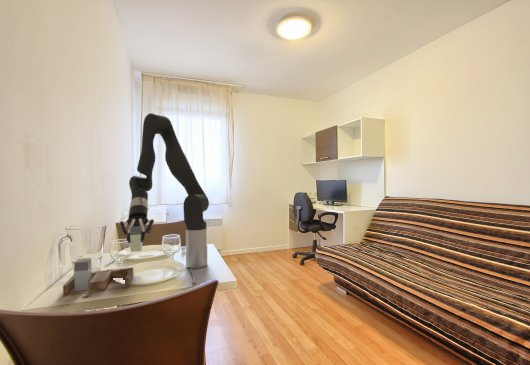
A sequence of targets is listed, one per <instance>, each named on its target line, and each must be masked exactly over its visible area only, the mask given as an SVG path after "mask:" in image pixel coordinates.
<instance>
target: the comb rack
mask: <svg viewBox="0 0 530 365" xmlns="http://www.w3.org/2000/svg"><path fill="white" fill-rule="evenodd" d="M91 273H92V280H91V281H90V282H89V289H88V290H81V291H75V275H74V274H73V275H72V276H71V277H70V278H69V279H68V280H67V281H66V282H65V283H64V284H63V286H62V289H63V290H62V293H63V295H62V296H63V297H68V296H77V295H83V294H91V293H98V292H105V291H106V292H107V291H114V290H120V289H128V288H130V286H131V284H130V283H132V282H133V278H134V267H126V268H117V269H105V270H98V271H91ZM113 278H123V280H125V284H121V283H119V282H116V281H115V280H113Z"/></svg>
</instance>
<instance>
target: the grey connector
mask: <svg viewBox="0 0 530 365" xmlns="http://www.w3.org/2000/svg"><path fill="white" fill-rule="evenodd" d="M73 264H74V266H73V267H74V269H73V270H74V274H73V275H75V291H81V290H88V289H89V282H90V281H91V280H92V273H91V272H92V258H91V257H87V258H79V259H77V260H75V261H74V262H73Z"/></svg>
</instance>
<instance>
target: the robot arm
mask: <svg viewBox="0 0 530 365" xmlns="http://www.w3.org/2000/svg"><path fill="white" fill-rule="evenodd" d="M156 135H160V136H161V138H162V140H163V142H164V145H165V153H164V154H165V155H164V159H165V164H167V168H168V169H169V171H170V173H171V175H172V176H173V177H174V178H175V180H177V182H178V183H179V184H180V185H182V187H183V188H184V189H185V192H186V193H187V196H186V197H185V199H184V202H183V207H182V208H183V221H184V224H185V266H188V267H189V268H188V267H187V268H188V269H192V270H193V269H202V268H204V267H207V266H208V245H207V244H208V242H207V238H208V237H207V231H208V230H207V228H208V227H207V226H208V225H207V221H205V219H204V212H205V211H207V210H208V208H209V207H210V201H209V199H208V196H207V194H206V193H205V191H204V190H203V188H202V187H201V185H200V183H199V181H198V179H197V177H196V175H195V173H194V171H193V169H192V166H191V165H190V163H189V160H188V158H187V156H186V155H185V153H184V150H183V148H182V146H181V144H180V142H179V140H178V138H177V137H178V136H177V135H176V132H175V130H174V127H173V124H172V122H171V120H170V119H169V117H168V116H167V115H164V114H161V113H159V114H158V113H155V112H154V113H148V114H147V115H146V116H145V117H144V120H143V123H142V139H141V149H140V156H139V159H138V163H137V167H136V170H137V172H138V173H140V174H141V175H144V176H140V175H133V176H131V177H130V179H129V183H128V184H129V189H130V192H131V199H130V200H131V201H130V204H129V212H128V218H127V219H126V220H125V221H123V220H122V221H120V222H119V224H120V227H121V231H122V234H123V236H126V241H127V243H128V244H130V227H131V226H142V229H141V230H142V232H141V242H142V243H143V242H145V240H146V234H150V233H151V231H152V229H153V227H154V224H155V220H154V219H152V218H151V219H148V211H149V205H148V201H149V193H148V192H149V191H151V189H152V188H153V170H154V166H155V164H156V153H155V148H154V140H155V136H156ZM145 176H146V177H145ZM147 224H148V225H147ZM127 225H128V230H127V229H126V227H127ZM146 225H147V228H146V229H145V226H146Z"/></svg>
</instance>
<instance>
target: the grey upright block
mask: <svg viewBox="0 0 530 365" xmlns="http://www.w3.org/2000/svg"><path fill="white" fill-rule="evenodd" d="M141 229H142V226H131V227H130V243H129V244H130V245H129V246H130V252H131V253H132V252H142V250H143V242H141V232H142V230H141Z"/></svg>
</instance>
